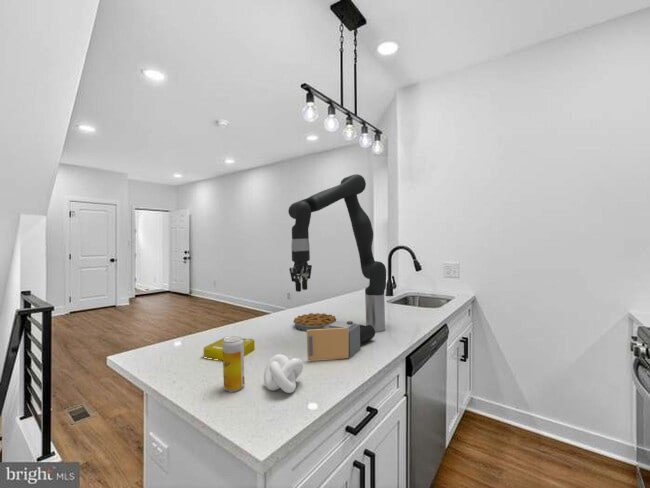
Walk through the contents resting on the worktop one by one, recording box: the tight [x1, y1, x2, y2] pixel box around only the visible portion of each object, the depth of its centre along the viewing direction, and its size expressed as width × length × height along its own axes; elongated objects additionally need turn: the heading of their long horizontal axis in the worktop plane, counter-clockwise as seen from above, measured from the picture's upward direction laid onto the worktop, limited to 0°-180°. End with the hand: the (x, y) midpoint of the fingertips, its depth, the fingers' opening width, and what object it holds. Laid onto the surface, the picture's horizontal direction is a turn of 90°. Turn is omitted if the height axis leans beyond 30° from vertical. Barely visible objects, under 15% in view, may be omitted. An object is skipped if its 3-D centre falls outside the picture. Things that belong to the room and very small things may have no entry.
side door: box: [306, 328, 350, 361], centre depth 112 cm, size 2×15×11 cm, turn 96°
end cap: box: [360, 324, 376, 345], centre depth 131 cm, size 10×7×7 cm
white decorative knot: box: [263, 354, 304, 394], centre depth 91 cm, size 11×12×9 cm
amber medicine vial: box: [222, 335, 246, 393], centre depth 93 cm, size 6×6×15 cm
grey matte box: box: [323, 320, 361, 359], centre depth 121 cm, size 10×12×11 cm
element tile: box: [203, 336, 255, 360], centre depth 122 cm, size 15×15×5 cm
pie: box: [293, 312, 337, 332], centre depth 157 cm, size 22×22×5 cm
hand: (301, 290), depth 128 cm, fingers open, 4 cm apart
